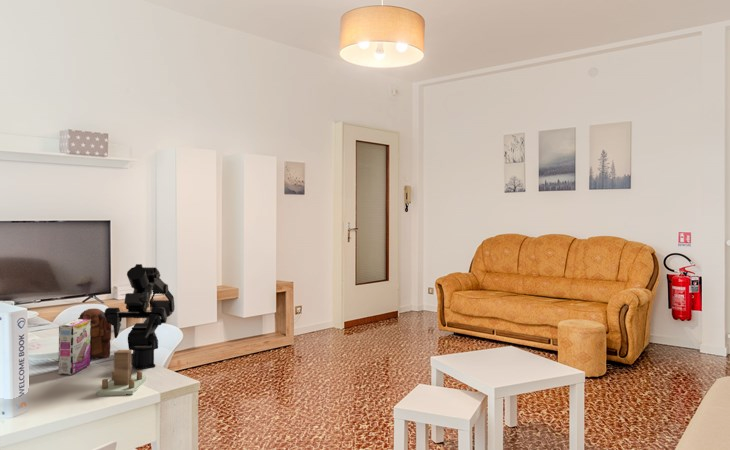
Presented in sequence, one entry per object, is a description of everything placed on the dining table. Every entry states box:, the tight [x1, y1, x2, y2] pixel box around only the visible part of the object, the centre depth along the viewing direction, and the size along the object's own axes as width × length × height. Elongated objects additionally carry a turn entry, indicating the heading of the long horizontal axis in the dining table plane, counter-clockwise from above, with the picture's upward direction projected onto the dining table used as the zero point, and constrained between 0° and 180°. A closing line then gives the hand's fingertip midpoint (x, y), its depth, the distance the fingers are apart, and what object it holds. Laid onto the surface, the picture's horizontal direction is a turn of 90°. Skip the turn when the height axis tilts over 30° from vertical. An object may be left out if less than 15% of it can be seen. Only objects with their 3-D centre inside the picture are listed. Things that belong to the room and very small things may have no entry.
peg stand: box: [96, 369, 147, 397], centre depth 164 cm, size 14×10×4 cm
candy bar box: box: [57, 318, 91, 376], centre depth 180 cm, size 11×5×16 cm, turn 178°
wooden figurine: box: [77, 308, 112, 360], centre depth 195 cm, size 12×6×18 cm, turn 109°
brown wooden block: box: [113, 349, 132, 386], centre depth 164 cm, size 4×4×10 cm
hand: (130, 337), depth 171 cm, fingers open, 9 cm apart
